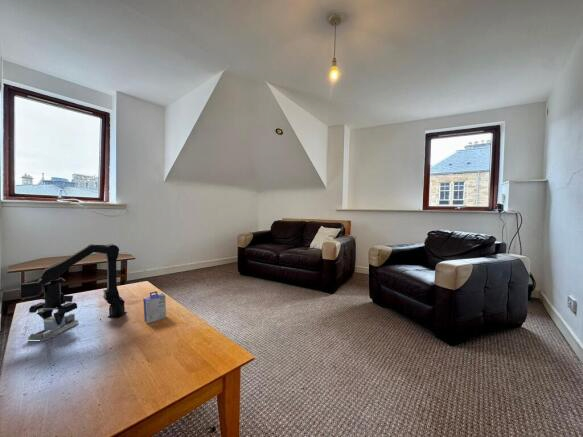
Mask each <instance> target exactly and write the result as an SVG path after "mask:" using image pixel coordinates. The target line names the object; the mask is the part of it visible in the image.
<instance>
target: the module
mask: <svg viewBox="0 0 583 437" xmlns="http://www.w3.org/2000/svg"><path fill="white" fill-rule="evenodd" d="M64 324H65V316H64V317H63V320H62V322H61V324H60V325H57V322H56V320H55V317H54V314H52V316H51V317H49V318H46V319H43V329H44V330H54V329H56V328H58V327H60V326H62V325H64Z"/></svg>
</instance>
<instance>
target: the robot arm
mask: <svg viewBox="0 0 583 437" xmlns="http://www.w3.org/2000/svg"><path fill="white" fill-rule="evenodd" d="M119 252H120V248H119V246H118V245H116V244H114V243H108V244H94V243H91V244H88V245H87V246H86V247H84V248H82V249H81V250H79V251H77V252H76V253H74V254H73V255H71V256H70V257H67V258H65V260H62V261H60V262H57V263H54V264H52V265H50V266H47V267H46V268H45V269H44V270H43V272H42V276H41V277H40V278H39V279H37V281H34V282H33V281H32V282H23V283H20V299H21V300H23V299H25V300H26V299H29V298H35V297H36V298H37V297H39V296H40V295H41V294H43V295H44V296H42V297H41V300H44V302H38V303H36V304H33V305H31V306H30V307H29V309H28V312H29V313H31V314H34V313H36V315H38V316H39V317H40V318H42V320H44V319H46V318H49V317H51V316H53V315H54V317H55V320H56V322H57V325H60V324H61V322H62V320H63V317H64V315H65V314H68V313H70V312H71V311H73V310H74V311H75V310H77V309H78V304H77V303H76V302H73V299H74V295H65V293H63V292H62V288H61V284H62V283H66V279H64V278H63V277H60V276H62V275H63V274H64V273H65V272H66V271H67V270H68V269H70V268H71V267H72V266H74V265H75V264H77V263H79V262H80V261H82V260H84V259H85V258H86V257H88V256H90V255H92V254H93V253H96V254H98V253H99V254H105V258H106V262H107V263H106V265H107V266H106V267H107V268H106V271H107V274H106V275H107V278H106V279H107V281H106V282H107V285H106V286H107V287H106V289H103V296H102V297H103V299H104V300H105V301H106V302H107V304H108V305H109V308H108V314H109V315H108V316H107V318H110V319H111V318H120V317H122V316H124V315H126V314H127V313H128V312H127V311H126V310H125V300H124V299H123V298H122V297H121V296H120V293H119V289H118V286H117V284H118V283H117V260H118V257H119ZM54 310H55V311H56V310H57V311H56V312H54V313H53V311H54ZM37 311H38V312H37Z"/></svg>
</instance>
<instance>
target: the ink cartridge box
mask: <svg viewBox="0 0 583 437" xmlns="http://www.w3.org/2000/svg"><path fill="white" fill-rule="evenodd" d="M166 300H167V299H166V295H165V294H163V293H160V294H158V291H152V292H149V296H148V297H144V298H143V300H142V301H143V313H144V314H143V315H144V317H143V318H144V322H145V324H149V323H153V322H155V321H156V322H157V321H160V320H162V319H166V318H167V307H166V306H167V304H166V303H167V302H166Z"/></svg>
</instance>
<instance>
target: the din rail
mask: <svg viewBox="0 0 583 437" xmlns="http://www.w3.org/2000/svg"><path fill="white" fill-rule="evenodd" d="M64 316H65V324H64V325H62V326H60V327H58V328H56V329H54V330H44V328H43V329H41V330H40V331H37V332H35V333H31V334H30V336H28V337H27V341H28V340H40V341H45V340H47V339H49V338H51V337H53V336H54V337H56V336H58V335H61V334H62V333H63V331H64V332H65V330H66V331H67V330H69V329H71V328H73V327H75V326H76V325H78V324H79V320H78V319H77V318H76V317H75V316H76V315H75V313H65V315H64ZM55 335H56V336H55ZM54 337H53V338H54ZM51 339H52V338H51ZM49 340H50V339H49ZM47 341H48V340H47ZM45 342H46V341H45Z"/></svg>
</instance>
